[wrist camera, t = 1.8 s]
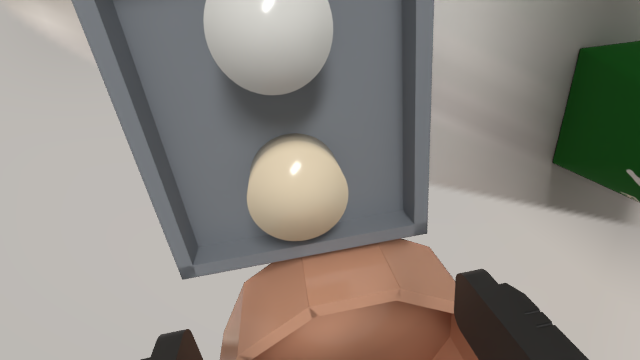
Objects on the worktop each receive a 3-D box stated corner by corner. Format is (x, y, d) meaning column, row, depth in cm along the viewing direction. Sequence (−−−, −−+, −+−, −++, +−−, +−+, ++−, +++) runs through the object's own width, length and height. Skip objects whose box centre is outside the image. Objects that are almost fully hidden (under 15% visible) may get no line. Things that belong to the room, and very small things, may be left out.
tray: (77, -64, 14) (39, -82, 11) (411, -100, 15) (437, -122, 12) (191, 252, 21) (182, 279, 18) (410, 212, 22) (426, 233, 20)
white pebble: (201, -27, 14) (186, -38, 12) (315, -40, 14) (325, -54, 12) (229, 91, 16) (221, 103, 14) (328, 77, 17) (338, 86, 14)
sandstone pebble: (240, 141, 17) (236, 160, 15) (333, 126, 18) (343, 143, 15) (259, 220, 20) (258, 248, 17) (341, 205, 20) (351, 231, 17)
